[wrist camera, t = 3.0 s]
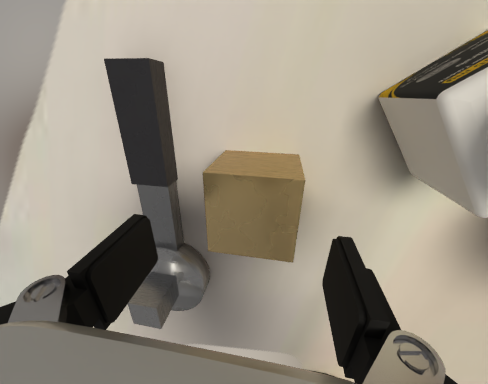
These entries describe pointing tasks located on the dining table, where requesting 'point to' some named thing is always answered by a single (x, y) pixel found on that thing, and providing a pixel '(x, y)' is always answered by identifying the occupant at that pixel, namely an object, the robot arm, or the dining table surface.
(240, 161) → the brass-coloured cube
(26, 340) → the robot arm
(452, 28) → the dining table surface
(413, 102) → the medicine bottle
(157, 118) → the ratchet
